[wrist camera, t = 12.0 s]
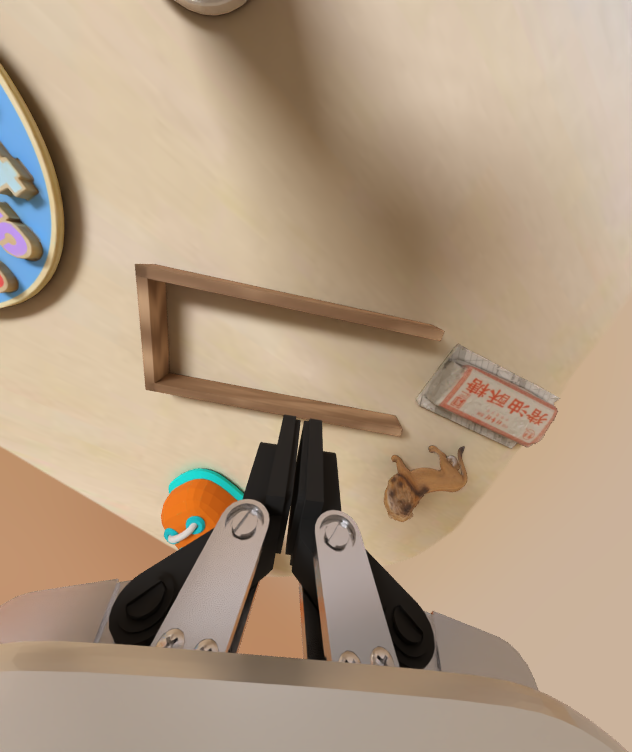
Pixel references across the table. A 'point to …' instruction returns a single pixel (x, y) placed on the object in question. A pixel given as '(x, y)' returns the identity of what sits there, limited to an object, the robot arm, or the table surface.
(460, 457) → the lion figurine
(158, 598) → the robot arm
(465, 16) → the table surface
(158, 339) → the open-ended wooden frame
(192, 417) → the table surface
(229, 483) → the toy shoe
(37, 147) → the shape sorting clock
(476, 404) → the packaged product
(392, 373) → the table surface
